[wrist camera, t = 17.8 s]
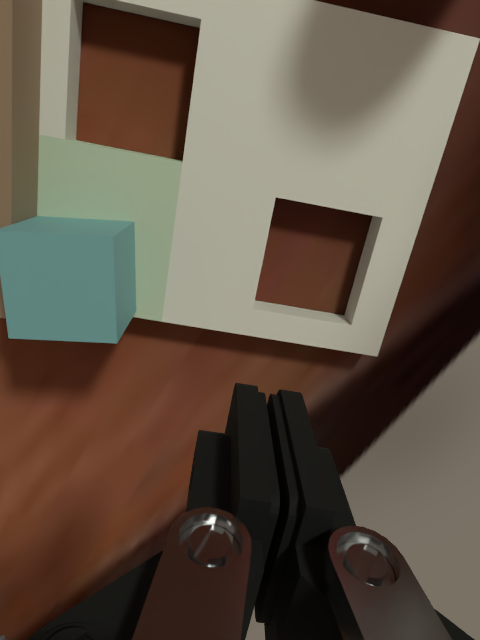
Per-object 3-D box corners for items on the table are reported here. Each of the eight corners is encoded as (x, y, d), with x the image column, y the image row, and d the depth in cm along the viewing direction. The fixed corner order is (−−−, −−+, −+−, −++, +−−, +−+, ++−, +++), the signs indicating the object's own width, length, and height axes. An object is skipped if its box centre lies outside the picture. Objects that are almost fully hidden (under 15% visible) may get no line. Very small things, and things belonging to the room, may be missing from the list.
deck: (462, 46, 27) (518, 21, 22) (369, 345, 34) (394, 380, 28) (39, -51, 25) (-11, -104, 19) (32, 290, 31) (-7, 316, 26)
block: (134, 221, 28) (113, 237, 23) (136, 310, 30) (117, 343, 25) (37, 215, 28) (-6, 230, 23) (46, 306, 30) (8, 338, 25)
